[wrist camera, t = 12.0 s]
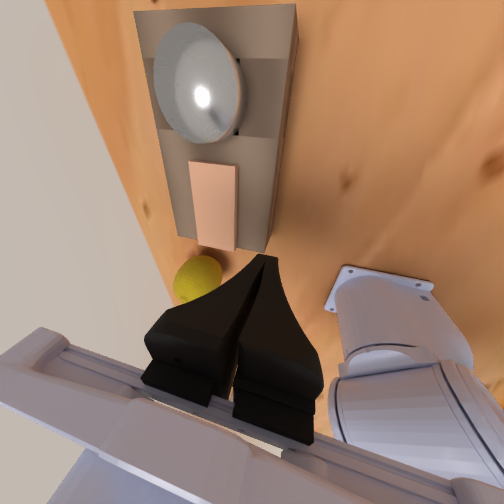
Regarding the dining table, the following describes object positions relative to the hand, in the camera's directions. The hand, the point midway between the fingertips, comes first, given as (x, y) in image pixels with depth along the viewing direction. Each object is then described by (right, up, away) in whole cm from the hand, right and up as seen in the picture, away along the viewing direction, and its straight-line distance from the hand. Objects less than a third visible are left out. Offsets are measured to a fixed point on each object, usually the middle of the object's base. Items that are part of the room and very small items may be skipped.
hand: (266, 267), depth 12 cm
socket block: (-3, +11, +6) cm, 13 cm away
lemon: (-7, 0, +15) cm, 16 cm away
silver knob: (-3, +14, +3) cm, 14 cm away
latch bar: (-4, +5, +5) cm, 8 cm away
